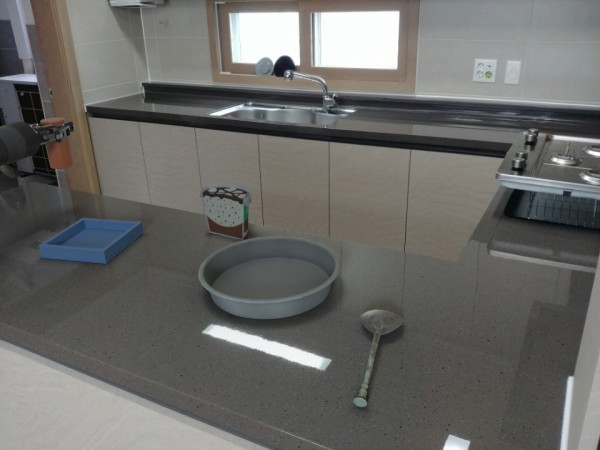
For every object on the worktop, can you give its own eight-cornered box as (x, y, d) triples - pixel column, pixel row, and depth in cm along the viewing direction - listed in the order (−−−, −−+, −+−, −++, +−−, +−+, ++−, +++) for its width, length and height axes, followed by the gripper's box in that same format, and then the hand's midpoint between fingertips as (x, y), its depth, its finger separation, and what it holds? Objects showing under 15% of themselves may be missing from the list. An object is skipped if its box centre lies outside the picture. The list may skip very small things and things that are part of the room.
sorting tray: (41, 257, 109) (38, 245, 108) (85, 228, 122) (82, 217, 121) (106, 264, 105) (103, 251, 104) (143, 233, 118) (141, 221, 117)
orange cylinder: (45, 168, 125) (35, 121, 121) (59, 162, 130) (50, 117, 126) (64, 169, 124) (55, 122, 120) (78, 163, 129) (69, 117, 125)
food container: (265, 231, 117) (262, 187, 114) (249, 241, 113) (245, 197, 109) (221, 221, 123) (217, 180, 119) (203, 231, 119) (198, 188, 115)
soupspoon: (405, 320, 85) (364, 316, 87) (405, 301, 84) (364, 298, 86) (385, 413, 65) (333, 405, 67) (385, 390, 64) (331, 383, 66)
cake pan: (287, 244, 111) (286, 224, 109) (369, 291, 92) (370, 268, 91) (177, 282, 98) (174, 260, 96) (247, 345, 79) (245, 319, 77)
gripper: (35, 126, 108) (85, 110, 123) (-25, 125, 111) (32, 109, 126) (43, 162, 111) (91, 142, 126) (-15, 160, 114) (39, 140, 129)
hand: (61, 125), depth 126 cm, fingers closed on orange cylinder, 5 cm apart
